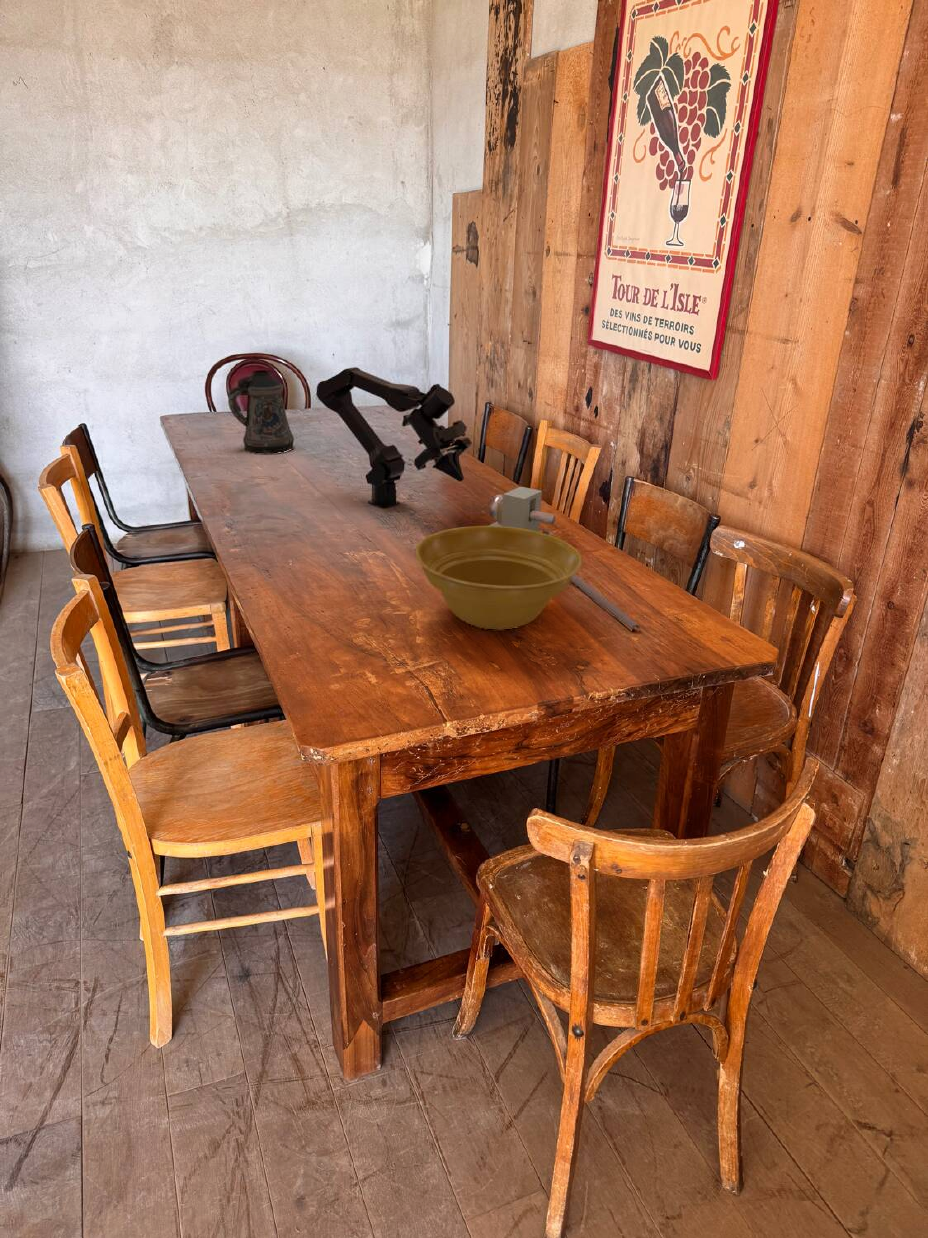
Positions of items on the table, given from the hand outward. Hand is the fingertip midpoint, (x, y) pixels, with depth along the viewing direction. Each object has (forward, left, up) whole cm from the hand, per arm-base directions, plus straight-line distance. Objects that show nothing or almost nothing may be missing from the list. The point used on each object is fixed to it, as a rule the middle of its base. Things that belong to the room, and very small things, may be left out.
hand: (462, 480), depth 214 cm
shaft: (+18, +3, -8) cm, 20 cm away
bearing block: (+17, +3, -11) cm, 21 cm away
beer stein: (-95, +6, -11) cm, 96 cm away
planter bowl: (+44, -36, -11) cm, 58 cm away
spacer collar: (+14, +2, -8) cm, 16 cm away
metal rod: (+55, -16, -12) cm, 59 cm away
